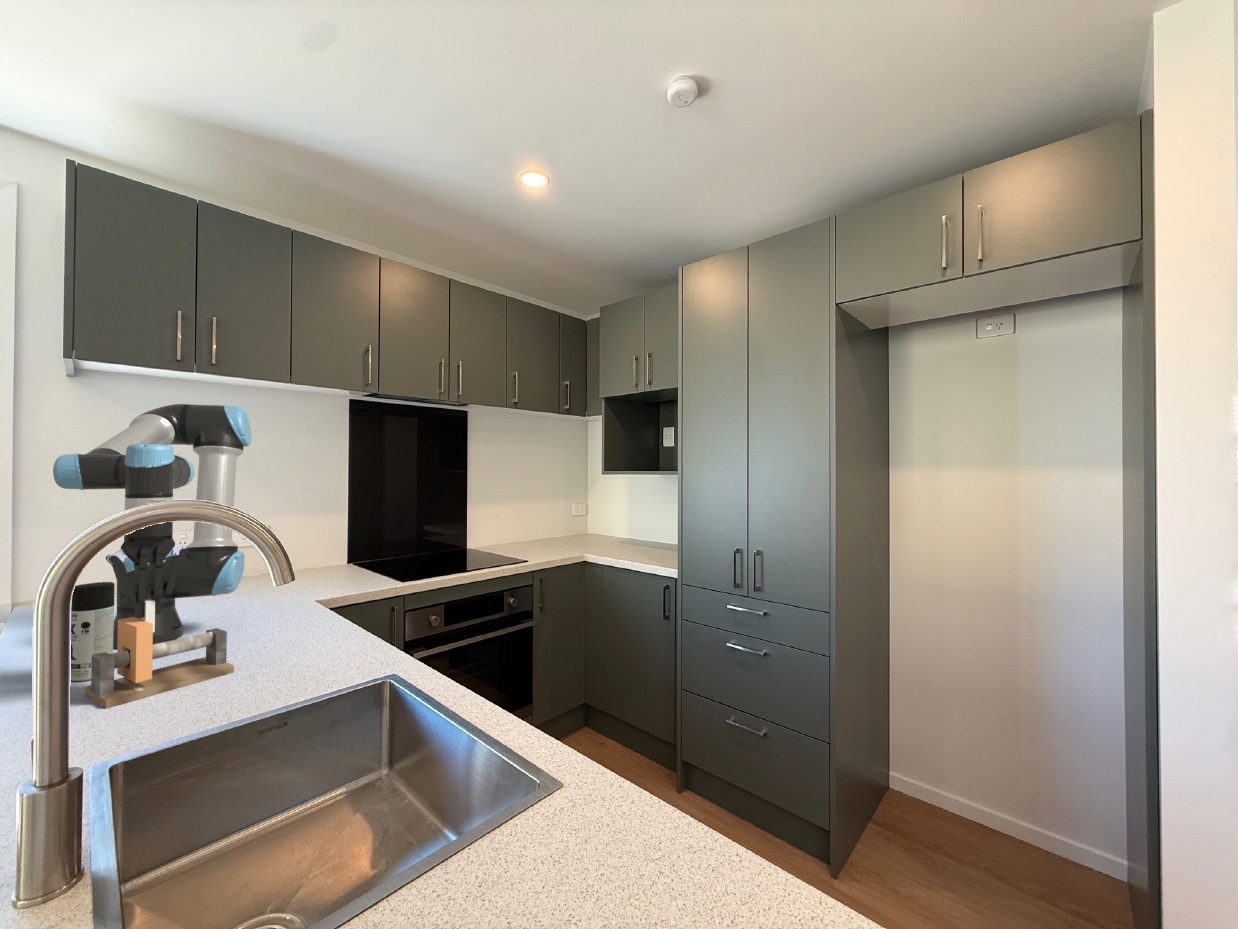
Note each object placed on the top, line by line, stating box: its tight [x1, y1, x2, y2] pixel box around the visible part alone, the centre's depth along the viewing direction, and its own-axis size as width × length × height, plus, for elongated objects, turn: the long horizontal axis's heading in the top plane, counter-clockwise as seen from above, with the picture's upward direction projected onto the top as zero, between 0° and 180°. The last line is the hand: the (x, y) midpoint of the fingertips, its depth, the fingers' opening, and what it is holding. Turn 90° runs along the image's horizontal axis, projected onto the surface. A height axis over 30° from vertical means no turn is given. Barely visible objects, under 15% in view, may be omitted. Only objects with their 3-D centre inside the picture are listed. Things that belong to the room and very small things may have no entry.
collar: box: [116, 617, 153, 683], centre depth 107 cm, size 2×10×11 cm, turn 59°
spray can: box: [70, 581, 115, 683], centre depth 114 cm, size 7×7×20 cm
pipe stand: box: [84, 627, 235, 709], centre depth 111 cm, size 21×12×9 cm, turn 149°
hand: (147, 632), depth 108 cm, fingers closed
